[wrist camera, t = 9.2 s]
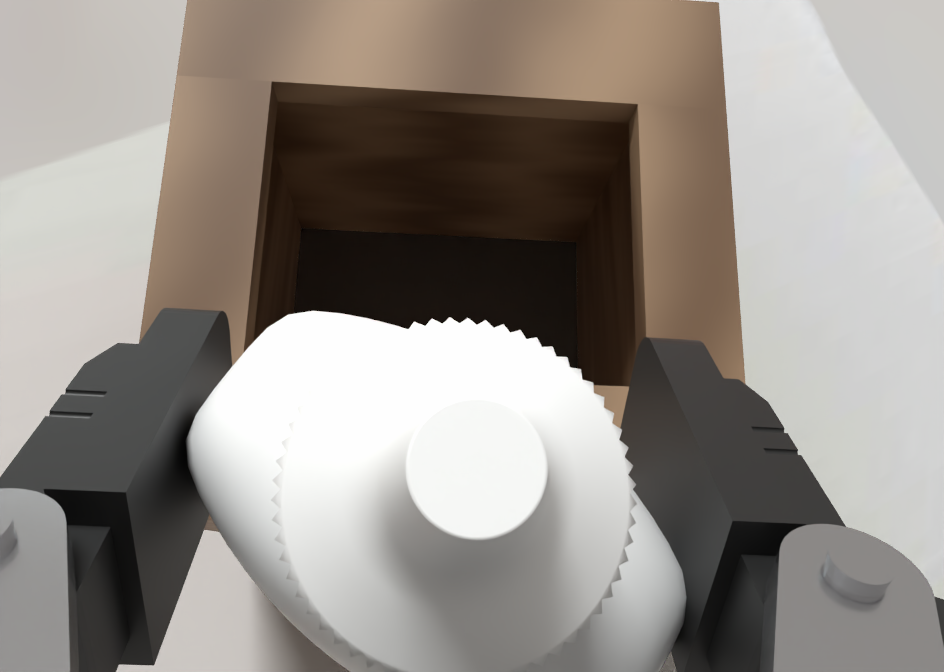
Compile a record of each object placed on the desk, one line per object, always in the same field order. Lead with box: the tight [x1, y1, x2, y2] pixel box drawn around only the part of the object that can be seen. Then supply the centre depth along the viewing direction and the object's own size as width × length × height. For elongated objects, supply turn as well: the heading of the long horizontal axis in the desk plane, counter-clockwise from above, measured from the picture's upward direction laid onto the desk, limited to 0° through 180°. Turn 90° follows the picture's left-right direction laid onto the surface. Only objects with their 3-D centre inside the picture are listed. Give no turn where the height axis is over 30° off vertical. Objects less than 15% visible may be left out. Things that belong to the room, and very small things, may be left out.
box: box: [139, 0, 745, 532], centre depth 28 cm, size 15×15×16 cm
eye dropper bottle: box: [186, 311, 687, 672], centre depth 10 cm, size 4×6×12 cm
